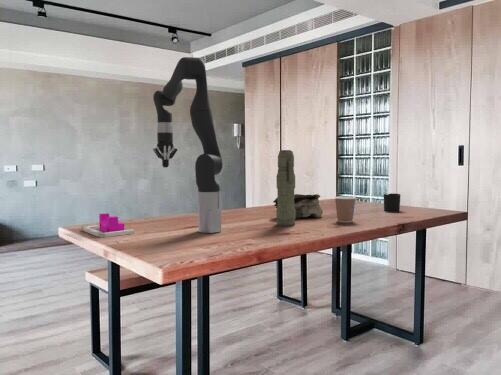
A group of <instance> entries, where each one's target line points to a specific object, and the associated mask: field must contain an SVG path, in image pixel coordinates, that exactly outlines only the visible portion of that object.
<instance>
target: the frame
mask: <svg viewBox="0 0 501 375" xmlns="http://www.w3.org/2000/svg"><path fill="white" fill-rule="evenodd" d="M81 231H82V232H85V233H88V234H90V235H93V236H96V237H97V238H101V239H102V238H108V237H110V238H111V237H115V236H117V237H118V236H125V235H134V234H135V230H134V229H132V228H131V229H124V230H123V231H114V232H105V233H104V232H102V231H100V224H99V225H87V226H81Z"/></svg>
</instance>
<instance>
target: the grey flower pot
mask: <svg viewBox="0 0 501 375" xmlns="http://www.w3.org/2000/svg"><path fill="white" fill-rule="evenodd" d="M334 198H335V200H334V201H335V208H336V219H337V221H338V222H339V223H352V222H353V220H354V213H355V212H354V211H355V206H356V199H357V197H356V196H347V195H346V196H345V195H342V196H341V195H340V196H334Z"/></svg>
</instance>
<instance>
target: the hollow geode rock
mask: <svg viewBox="0 0 501 375" xmlns="http://www.w3.org/2000/svg"><path fill="white" fill-rule="evenodd" d="M319 198H321V195H320V194H318V193H317V194H315V193H314V194H298V193H294V208H295V219H296V218H297V219H298V218H299V219H300V218H307V217H313V218H321V217H323V213H324V210H323V209H322V207H321V206H320V200H319ZM272 203H274V204H273V206H274V207H275V208H276V209H277V208H278V196H277V197H276V198H275V199H274V200H273V201H272Z"/></svg>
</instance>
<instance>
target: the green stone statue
mask: <svg viewBox="0 0 501 375" xmlns="http://www.w3.org/2000/svg"><path fill="white" fill-rule="evenodd" d="M277 154H278V155H277V168H278V169H277V174H276V189H277V197H278V208H276V211H275V212H276V218H275V219H276V225H277V226H282V227H291V226H295V225H296V217H295V208H294V195H295V190H296V189H295V188H296V174H295V169H294V167H295V155H294V152H293V150H291V149H283V150H279V151H278V153H277Z"/></svg>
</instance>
